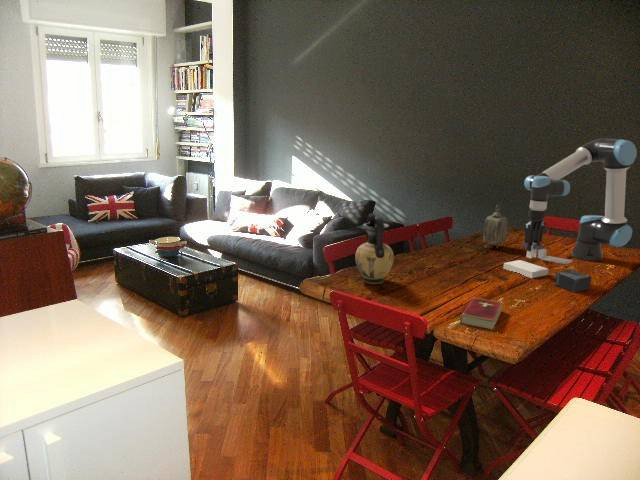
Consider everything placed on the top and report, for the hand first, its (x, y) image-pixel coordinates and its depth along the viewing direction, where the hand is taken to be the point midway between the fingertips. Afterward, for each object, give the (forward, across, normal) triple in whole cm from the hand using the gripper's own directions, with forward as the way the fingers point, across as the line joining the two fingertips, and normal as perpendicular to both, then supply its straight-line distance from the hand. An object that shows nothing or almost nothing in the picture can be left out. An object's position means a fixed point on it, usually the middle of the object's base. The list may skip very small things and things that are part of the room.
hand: (531, 257), depth 258 cm
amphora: (+8, +76, -25) cm, 80 cm away
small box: (+5, 0, +18) cm, 18 cm away
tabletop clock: (+8, -23, -41) cm, 48 cm away
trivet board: (+8, 0, -2) cm, 8 cm away
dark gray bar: (-1, 0, +7) cm, 8 cm away
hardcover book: (+9, +65, +28) cm, 71 cm away
